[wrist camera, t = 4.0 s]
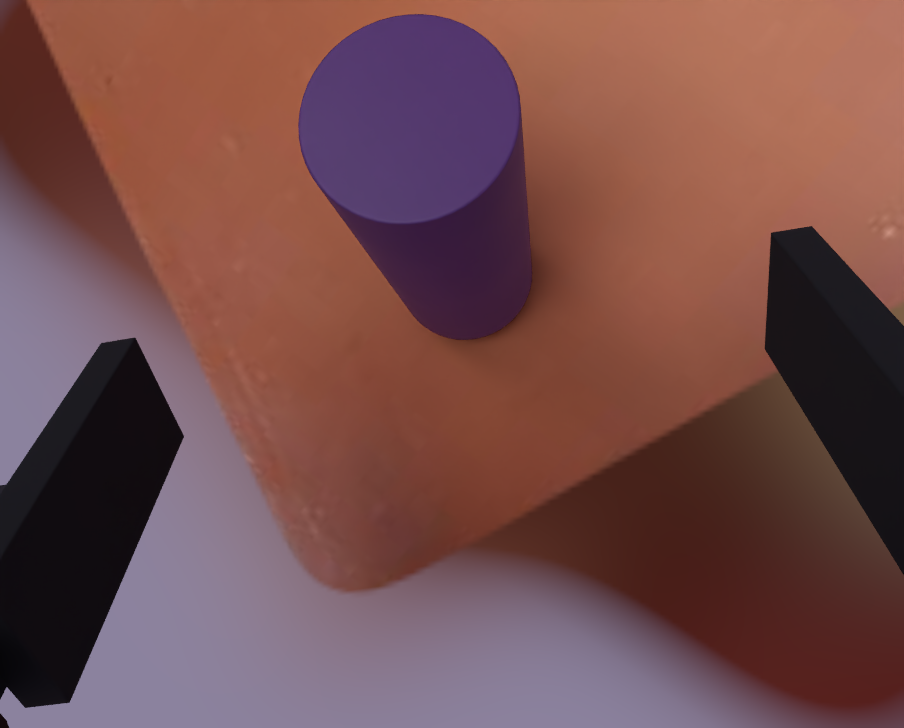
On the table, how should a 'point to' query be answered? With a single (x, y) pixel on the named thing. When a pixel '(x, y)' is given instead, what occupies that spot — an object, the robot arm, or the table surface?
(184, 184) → the table surface
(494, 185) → the purple cylinder
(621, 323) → the table surface
